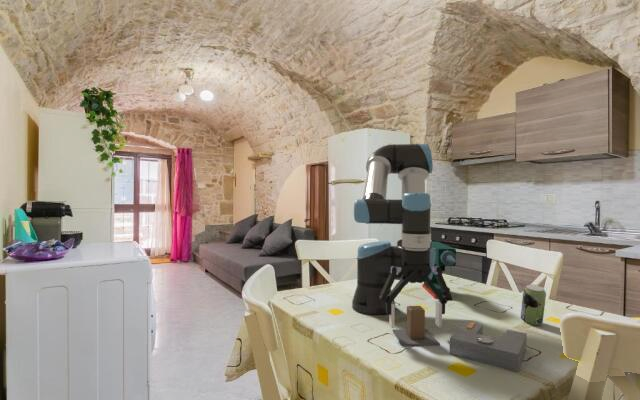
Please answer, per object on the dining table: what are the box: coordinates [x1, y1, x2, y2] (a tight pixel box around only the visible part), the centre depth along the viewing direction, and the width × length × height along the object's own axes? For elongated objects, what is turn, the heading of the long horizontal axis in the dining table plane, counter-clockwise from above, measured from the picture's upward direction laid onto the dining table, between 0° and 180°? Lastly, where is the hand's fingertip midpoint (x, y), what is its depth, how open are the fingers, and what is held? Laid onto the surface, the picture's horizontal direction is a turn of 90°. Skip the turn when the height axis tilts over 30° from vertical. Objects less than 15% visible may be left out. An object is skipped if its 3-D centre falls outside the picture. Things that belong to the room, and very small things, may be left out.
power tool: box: [421, 241, 457, 300], centre depth 140 cm, size 32×7×20 cm, turn 179°
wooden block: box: [406, 305, 426, 339], centre depth 97 cm, size 4×4×8 cm
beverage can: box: [520, 283, 547, 326], centre depth 110 cm, size 6×7×12 cm
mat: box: [392, 328, 441, 347], centre depth 98 cm, size 10×10×1 cm
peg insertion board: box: [449, 320, 528, 373], centre depth 89 cm, size 15×15×5 cm
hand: (415, 326), depth 97 cm, fingers open, 12 cm apart
